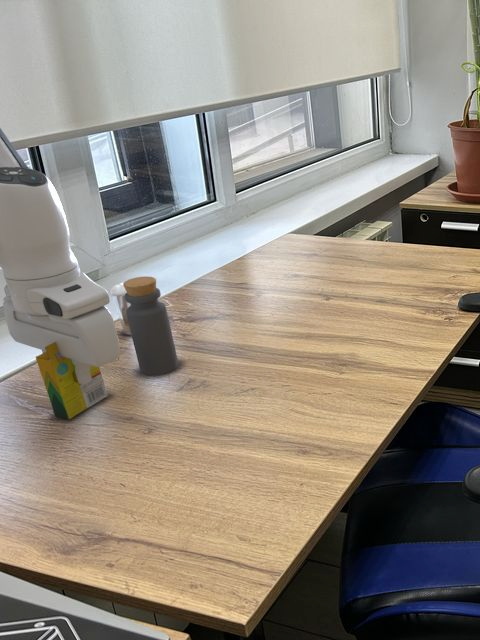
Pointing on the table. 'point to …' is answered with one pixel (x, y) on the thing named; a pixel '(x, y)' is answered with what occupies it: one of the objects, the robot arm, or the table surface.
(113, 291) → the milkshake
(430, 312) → the table surface
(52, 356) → the crayon box
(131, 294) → the bottle
